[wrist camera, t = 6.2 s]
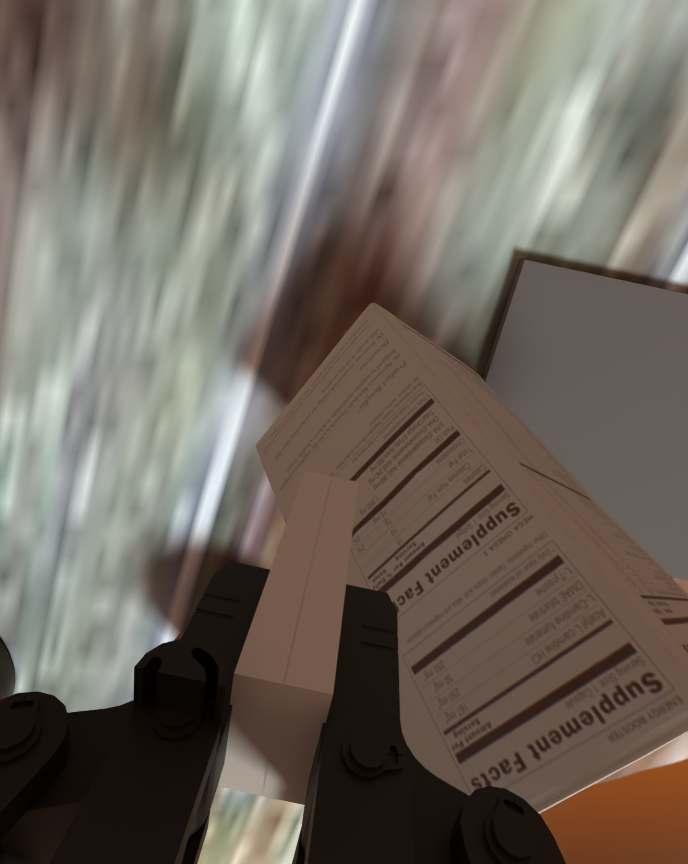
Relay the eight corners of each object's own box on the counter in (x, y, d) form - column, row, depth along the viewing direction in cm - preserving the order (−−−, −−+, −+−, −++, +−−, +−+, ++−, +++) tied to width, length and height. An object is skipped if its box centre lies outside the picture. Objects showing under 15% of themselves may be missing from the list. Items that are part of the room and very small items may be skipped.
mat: (734, 583, 30) (743, 592, 29) (436, 520, 30) (437, 528, 29) (895, 338, 24) (911, 341, 23) (520, 258, 24) (525, 259, 23)
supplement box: (248, 445, 23) (407, 888, 12) (368, 293, 20) (732, 719, 9) (374, 482, 30) (552, 794, 19) (481, 372, 26) (771, 676, 15)
